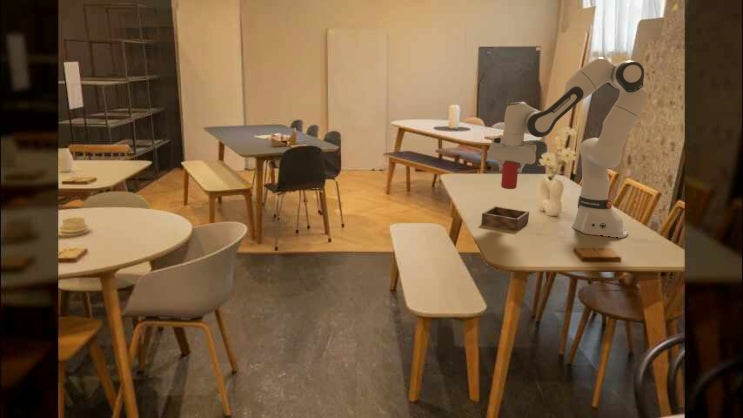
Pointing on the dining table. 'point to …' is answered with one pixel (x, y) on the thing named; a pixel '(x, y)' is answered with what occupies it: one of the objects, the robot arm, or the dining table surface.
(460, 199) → the dining table surface
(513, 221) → the walnut box
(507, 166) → the beer can
